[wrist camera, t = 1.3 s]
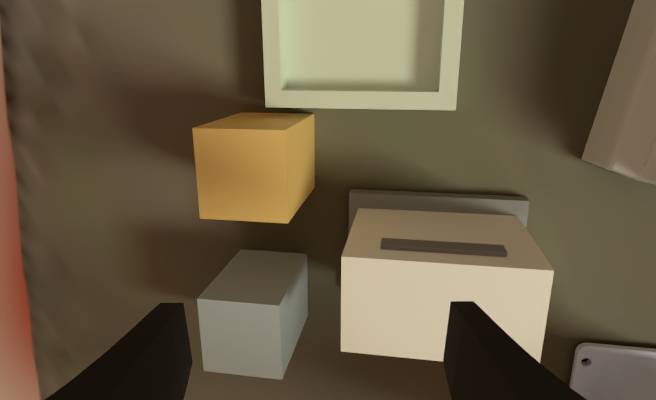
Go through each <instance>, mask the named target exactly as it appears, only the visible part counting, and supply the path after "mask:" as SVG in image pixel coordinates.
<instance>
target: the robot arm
mask: <svg viewBox="0 0 656 400" xmlns="http://www.w3.org/2000/svg"><path fill="white" fill-rule="evenodd" d="M584 358H588V361H586V362H581V361H582V359H584ZM443 362H444V367H445V371H446V376H447V381H448V385H449V389H450V394H451V397H452V400H656V349H653V348H642V347H630V346H619V345H608V344H597V343H582V344H579V345H578V346H577V348H576V350H575V356H574V362H573V367H572V373H571V379H570V384H569V386H568V385H566V384H565V383H564V382H562V381H561V380H560V379H559V378H557V377H556V376H555V375H554V374H552V373H551V372H550V371H549V370H547V369H546V368H545V367H544V366H543V365H541V364H540V363H539V362H538V361H537V360H536V359H534V358H533V357H532V356H531V355H530V354H529V353H528V352H526V351H525V350H524V349H523V348H522V347H521V346H520V345H519V344H518V343H516V342H515V341H514V340H513V339H512V338H511V337H510V336H509V335H508V334H507V333H506V332H505V331H504V330H503V329H502V328H501V327H500V326H498V325H497V324H496V323H495V322H494V321H493V320H492V319H491V318H490V317H489V316H488V315H487V314H486V313H485V312H484V311H483V310H482V309H481V308H480V307H479V306H478V305H477V304H476V303H475V302H474V301H451V304H450V311H449V319H448V326H447V334H446V342H445V349H444V357H443ZM191 366H192V356H191V350H190V343H189V337H188V331H187V324H186V318H185V311H184V305H183V303H160V304H159V305H158V306H157V307H155V308H154V309H153V310H152V311H151V312H150V313H149V314H148V315H147V316H146V317H144V318H143V319H142V320H141V321H140V322H139V323H138V324H137V325H136V326H135V327H134V328H133V329H131V330H130V331H129V332H128V333H127V334H126V335H125V336H124V337H123V338H121V339H120V340H119V341H118V342H117V343H116V344H115V345H114V346H112V347H111V348H110V349H109V350H108V351H107V352H106V353H105V354H103V355H102V356H101V357H100V358H98V359H97V360H96V361H95V362H93V363H92V364H91V365H90V366H89V367H87V368H86V369H85V370H84V371H82V372H81V373H80V374H79V375H77V376H76V377H75V378H74V379H73V380H71V381H70V382H69V383H67V384H66V385H65V386H63V387H62V388H61V389H59V390H58V391H56V392H55V393H54V394H52V395H51V396H49V397H48V398H47V399H45V400H183V399H184V395H185V391H186V387H187V383H188V379H189V375H190V370H191Z"/></svg>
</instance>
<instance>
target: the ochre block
mask: <svg viewBox="0 0 656 400" xmlns="http://www.w3.org/2000/svg"><path fill="white" fill-rule="evenodd" d="M192 131H193V143H194V155H195V166H196V178H197V189H198V201H199V212H200V219H217V220H235V221H252V222H270V223H289V221H290V220H291V219H292V217H293V216H294V215H295V213H296V212H297V211H298V209H299V208H300V206H301V205H302V204H303V202H304V201H305V200H306V198H307V197H308V196H309V194H310V193H311V192H312V190H313V189H314V188H315V149H314V114H305V113H247V112H241V113H238V114H235V115H232V116H228V117H225V118H222V119H219V120H216V121H213V122H210V123H207V124H203V125H200V126H197V127H194V128H192Z"/></svg>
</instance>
